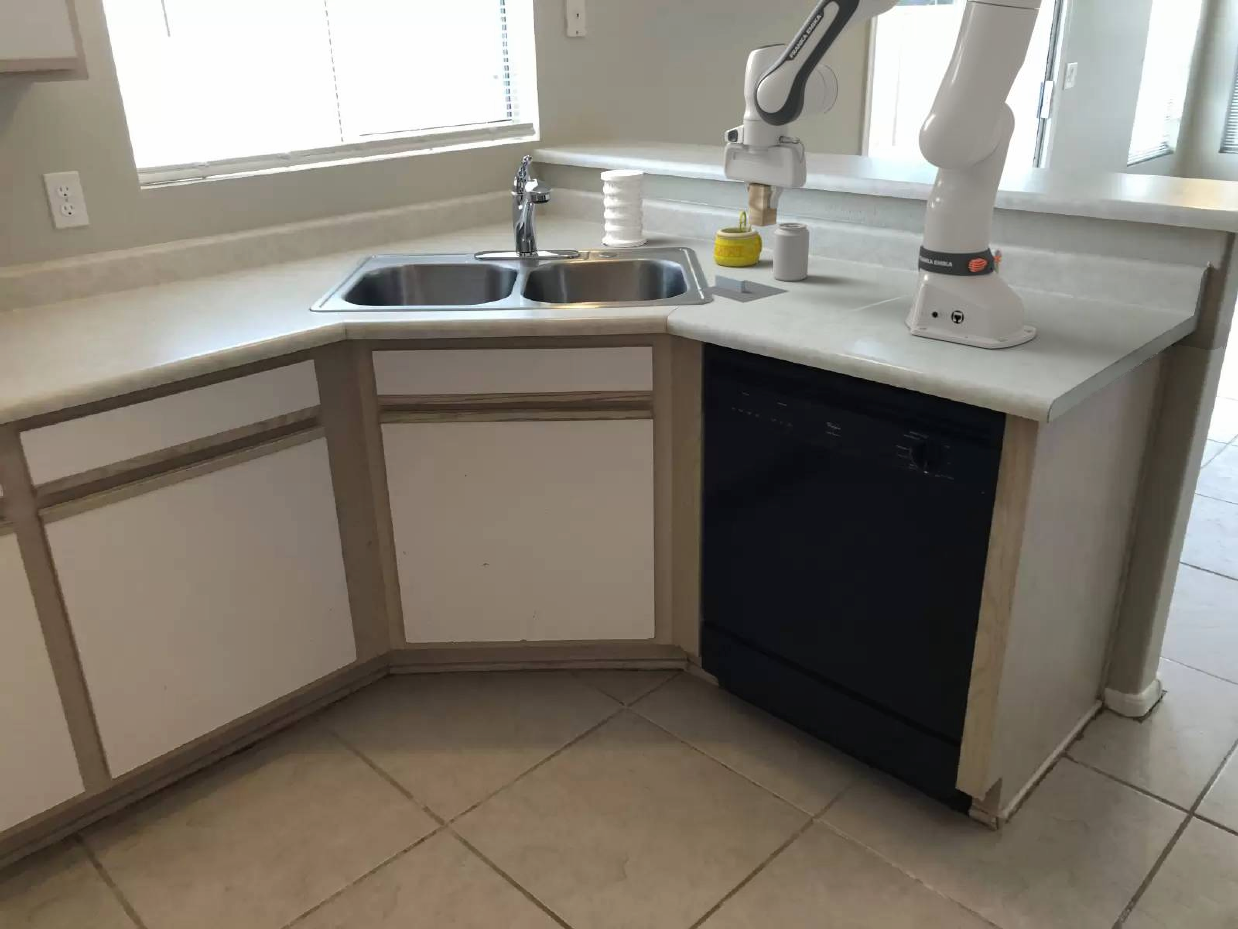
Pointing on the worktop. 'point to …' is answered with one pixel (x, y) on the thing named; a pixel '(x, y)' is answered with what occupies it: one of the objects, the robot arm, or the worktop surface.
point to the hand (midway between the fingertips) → (762, 206)
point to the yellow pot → (737, 245)
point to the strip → (730, 283)
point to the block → (760, 206)
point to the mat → (751, 292)
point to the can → (791, 252)
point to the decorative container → (623, 207)
